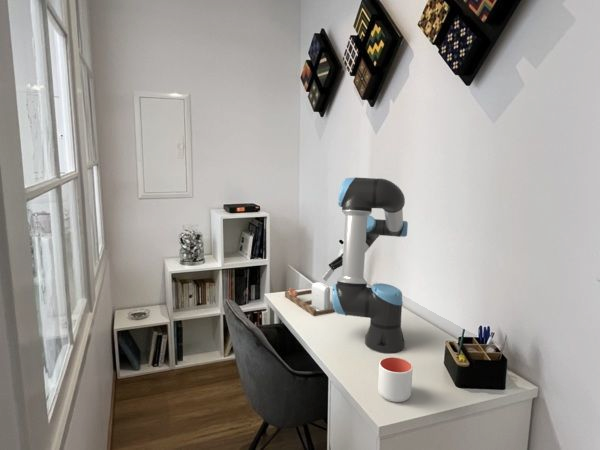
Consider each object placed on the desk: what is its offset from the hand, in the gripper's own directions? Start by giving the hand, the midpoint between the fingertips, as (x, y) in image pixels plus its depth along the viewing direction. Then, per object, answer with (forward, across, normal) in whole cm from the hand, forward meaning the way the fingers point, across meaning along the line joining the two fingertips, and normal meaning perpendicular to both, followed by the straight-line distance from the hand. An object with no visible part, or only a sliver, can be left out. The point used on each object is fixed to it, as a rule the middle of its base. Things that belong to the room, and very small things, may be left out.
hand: (331, 283), depth 208 cm
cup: (+25, -75, +9) cm, 79 cm away
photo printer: (+12, -1, -4) cm, 13 cm away
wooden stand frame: (+12, +6, -3) cm, 14 cm away
